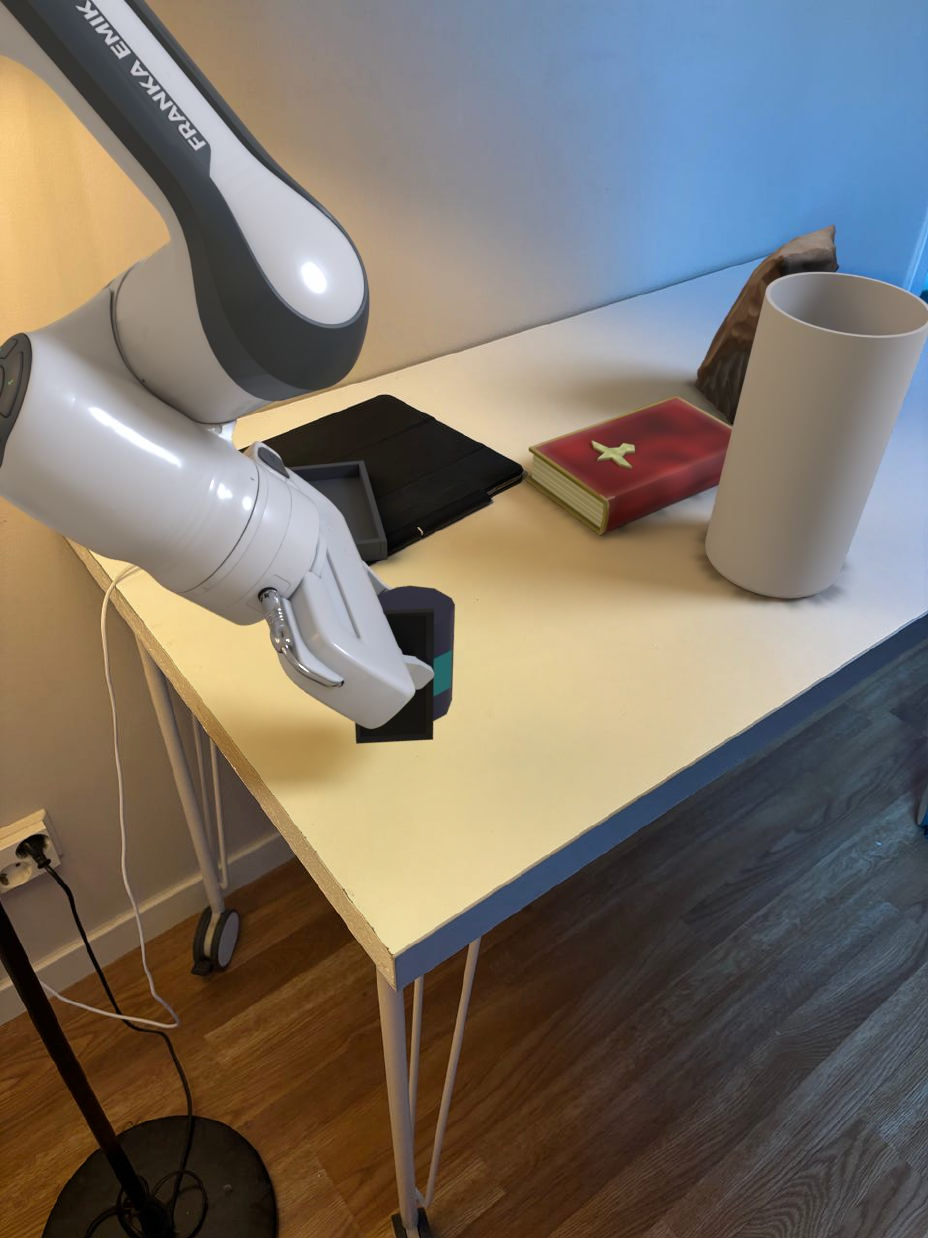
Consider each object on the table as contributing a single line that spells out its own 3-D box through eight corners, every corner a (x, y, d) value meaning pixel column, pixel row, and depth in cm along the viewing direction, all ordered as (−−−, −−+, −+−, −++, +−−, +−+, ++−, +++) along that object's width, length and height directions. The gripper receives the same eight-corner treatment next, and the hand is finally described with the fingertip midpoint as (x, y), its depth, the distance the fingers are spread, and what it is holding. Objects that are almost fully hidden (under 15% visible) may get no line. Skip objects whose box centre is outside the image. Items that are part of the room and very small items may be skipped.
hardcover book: (750, 474, 101) (759, 439, 99) (602, 537, 92) (608, 500, 89) (670, 426, 109) (677, 392, 106) (525, 480, 99) (528, 444, 96)
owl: (792, 383, 118) (839, 216, 105) (825, 434, 108) (881, 258, 95) (691, 381, 117) (726, 213, 104) (716, 433, 108) (757, 256, 95)
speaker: (435, 759, 64) (434, 632, 58) (353, 744, 65) (345, 618, 59) (463, 691, 70) (465, 570, 64) (388, 678, 71) (383, 558, 65)
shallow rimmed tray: (196, 581, 85) (193, 562, 84) (193, 494, 95) (190, 476, 94) (387, 559, 88) (387, 540, 87) (364, 477, 99) (363, 460, 97)
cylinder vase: (867, 585, 87) (970, 324, 71) (752, 615, 84) (833, 347, 67) (785, 512, 96) (860, 264, 80) (678, 535, 92) (734, 281, 76)
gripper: (321, 621, 48) (493, 716, 57) (255, 427, 62) (400, 526, 71) (242, 702, 50) (421, 782, 58) (195, 494, 64) (344, 583, 73)
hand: (409, 640), depth 65 cm, fingers closed on speaker, 6 cm apart
